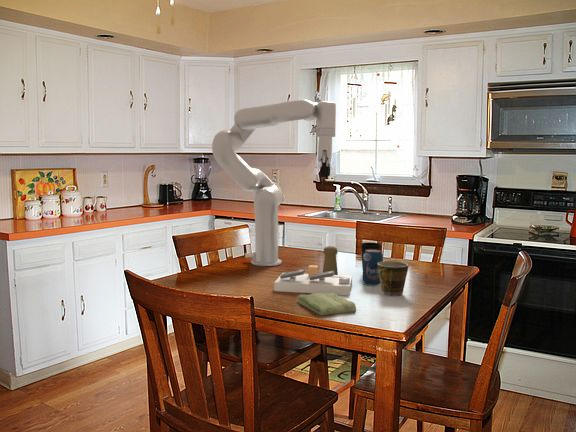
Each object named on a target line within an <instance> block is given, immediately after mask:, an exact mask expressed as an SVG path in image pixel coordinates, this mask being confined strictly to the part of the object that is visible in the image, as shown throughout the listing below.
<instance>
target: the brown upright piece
mask: <svg viewBox="0 0 576 432" xmlns="http://www.w3.org/2000/svg"><path fill="white" fill-rule="evenodd" d="M323 254H324V261H323V267H322V272H321V273H324V272H329V271H334V275H339V272H338V265H337V255H338V248H337V247H336V246H331V245H330V246H329V245H327V246H325V247H324V248H323Z"/></svg>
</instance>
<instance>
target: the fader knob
mask: <svg viewBox="0 0 576 432" xmlns="http://www.w3.org/2000/svg"><path fill="white" fill-rule="evenodd" d="M307 274H308V275H313V274H319V265H313V264H311V265H308V273H307Z"/></svg>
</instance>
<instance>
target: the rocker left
mask: <svg viewBox="0 0 576 432" xmlns="http://www.w3.org/2000/svg"><path fill="white" fill-rule="evenodd" d="M282 273H283V274H282ZM282 273H281V274H280V275H281V276H280V275H279V276H280V278H281V279H283V278H289V277H294V276H299V275H304V274H306V269H304V268H303V269H298V270H293V271H288V272H282Z"/></svg>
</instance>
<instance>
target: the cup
mask: <svg viewBox="0 0 576 432" xmlns="http://www.w3.org/2000/svg"><path fill="white" fill-rule="evenodd" d="M360 249H361V253H360V254H361V265H362V266H361V267H362V269H363V254H364V252H365V250H366V249H378V250H381V251H382V243H379V242H361V244H360Z"/></svg>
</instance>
